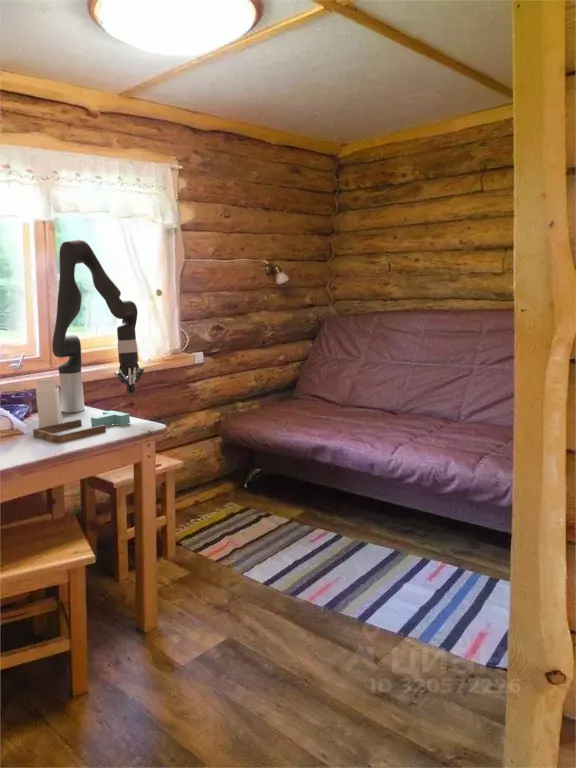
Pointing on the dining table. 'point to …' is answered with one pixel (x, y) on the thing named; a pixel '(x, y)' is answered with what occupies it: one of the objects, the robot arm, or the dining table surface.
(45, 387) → the milk carton
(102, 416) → the T-block
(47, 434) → the bay
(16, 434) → the dining table surface
